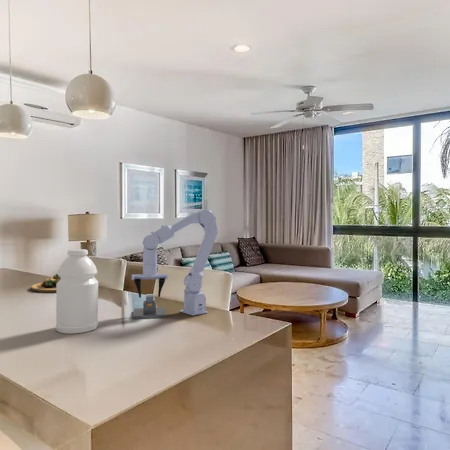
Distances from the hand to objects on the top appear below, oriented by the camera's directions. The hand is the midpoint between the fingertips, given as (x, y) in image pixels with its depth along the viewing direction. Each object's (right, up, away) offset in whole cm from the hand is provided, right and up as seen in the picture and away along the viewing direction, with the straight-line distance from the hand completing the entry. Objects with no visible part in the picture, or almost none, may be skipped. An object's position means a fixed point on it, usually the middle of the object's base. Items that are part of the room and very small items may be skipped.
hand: (149, 296), depth 152 cm
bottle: (-21, -7, -21) cm, 31 cm away
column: (0, -6, 0) cm, 6 cm away
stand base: (0, -7, 0) cm, 7 cm away
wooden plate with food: (-63, -7, +60) cm, 88 cm away
